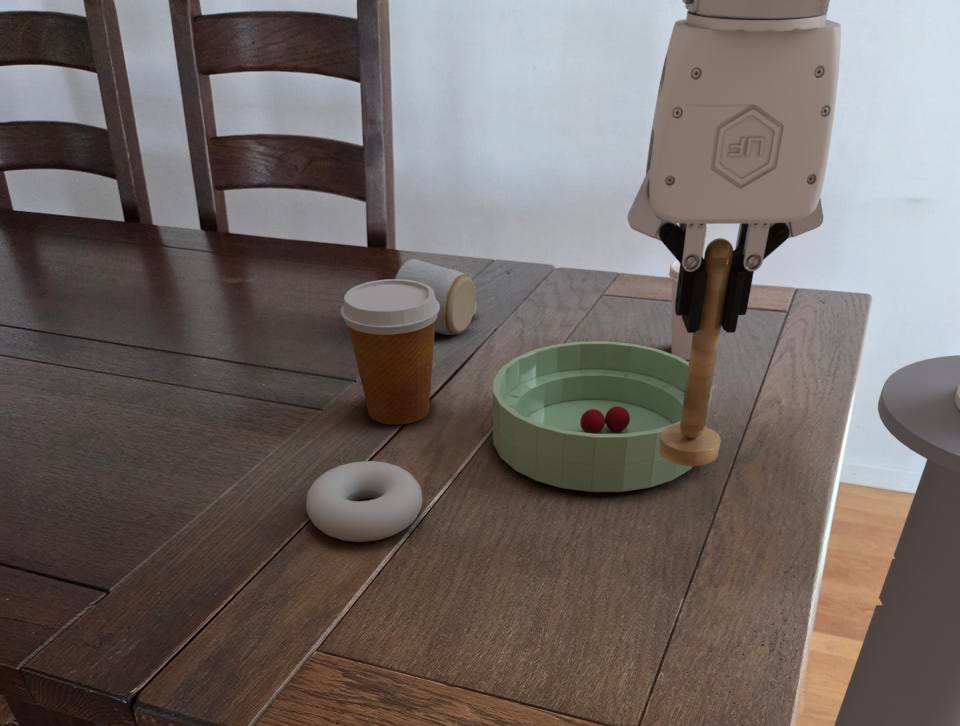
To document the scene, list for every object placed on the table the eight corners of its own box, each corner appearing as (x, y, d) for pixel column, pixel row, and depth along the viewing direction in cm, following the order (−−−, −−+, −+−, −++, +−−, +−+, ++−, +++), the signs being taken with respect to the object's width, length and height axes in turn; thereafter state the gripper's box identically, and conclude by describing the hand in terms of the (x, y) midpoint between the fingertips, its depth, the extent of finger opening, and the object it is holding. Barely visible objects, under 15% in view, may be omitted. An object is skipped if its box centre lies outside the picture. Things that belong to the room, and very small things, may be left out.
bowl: (685, 395, 94) (693, 340, 90) (720, 497, 78) (731, 436, 75) (494, 397, 94) (494, 342, 90) (492, 498, 79) (491, 437, 75)
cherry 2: (621, 407, 84) (599, 418, 85) (632, 429, 85) (610, 439, 86) (624, 398, 86) (602, 408, 87) (635, 419, 87) (613, 429, 88)
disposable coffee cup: (418, 440, 87) (409, 319, 80) (335, 422, 91) (319, 304, 83) (460, 400, 94) (456, 284, 86) (381, 385, 97) (371, 272, 89)
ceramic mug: (451, 346, 104) (449, 279, 100) (392, 334, 107) (387, 268, 103) (492, 317, 112) (492, 253, 107) (436, 306, 115) (433, 244, 110)
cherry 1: (611, 428, 85) (601, 437, 87) (606, 404, 85) (596, 413, 87) (588, 430, 84) (579, 439, 87) (583, 406, 84) (574, 415, 87)
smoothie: (658, 363, 100) (674, 231, 91) (660, 340, 105) (675, 213, 96) (717, 366, 99) (738, 233, 90) (715, 343, 104) (736, 215, 95)
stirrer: (712, 437, 68) (748, 228, 58) (723, 466, 65) (763, 249, 55) (655, 437, 68) (681, 228, 58) (662, 466, 65) (691, 249, 55)
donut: (418, 551, 73) (428, 486, 81) (415, 516, 71) (426, 452, 78) (298, 550, 74) (319, 485, 81) (292, 516, 71) (314, 452, 79)
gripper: (620, 1, 46) (595, 348, 58) (930, -4, 45) (840, 347, 57) (608, -13, 51) (587, 305, 63) (883, -17, 51) (810, 304, 63)
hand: (708, 323), depth 60 cm, fingers closed on stirrer
